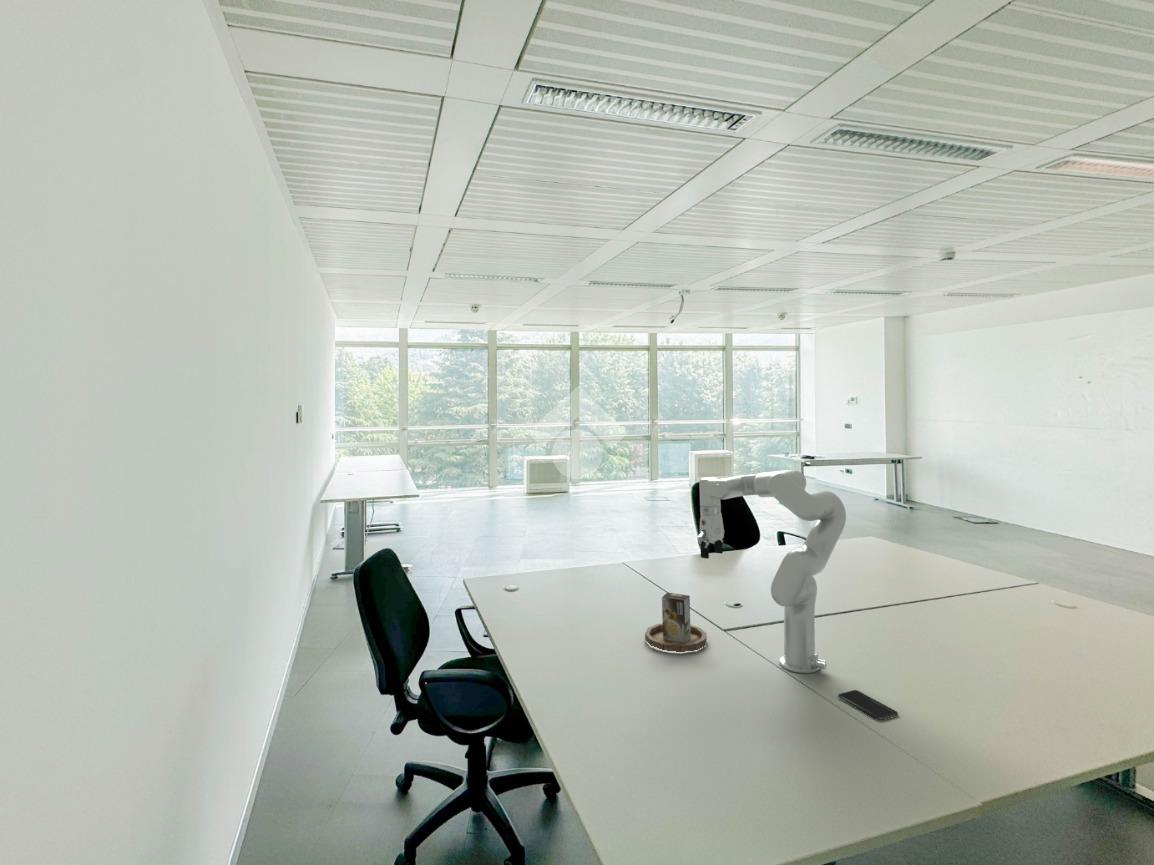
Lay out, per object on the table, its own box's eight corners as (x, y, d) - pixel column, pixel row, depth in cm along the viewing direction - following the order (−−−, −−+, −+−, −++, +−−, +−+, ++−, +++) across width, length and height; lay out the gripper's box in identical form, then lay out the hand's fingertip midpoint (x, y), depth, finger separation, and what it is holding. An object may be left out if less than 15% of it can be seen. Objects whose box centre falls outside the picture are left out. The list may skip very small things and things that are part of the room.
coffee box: (691, 637, 218) (690, 595, 218) (685, 644, 213) (685, 600, 212) (668, 633, 223) (667, 591, 222) (662, 639, 217) (661, 596, 217)
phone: (878, 719, 160) (836, 694, 174) (878, 723, 160) (836, 698, 174) (900, 713, 163) (856, 689, 177) (900, 717, 163) (856, 693, 177)
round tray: (717, 641, 217) (717, 633, 217) (682, 659, 202) (682, 650, 202) (670, 626, 233) (670, 618, 233) (633, 642, 218) (633, 634, 218)
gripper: (706, 514, 211) (708, 561, 211) (731, 507, 223) (732, 552, 224) (689, 512, 216) (690, 558, 217) (713, 506, 229) (715, 549, 229)
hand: (711, 555), depth 220 cm, fingers open, 9 cm apart
